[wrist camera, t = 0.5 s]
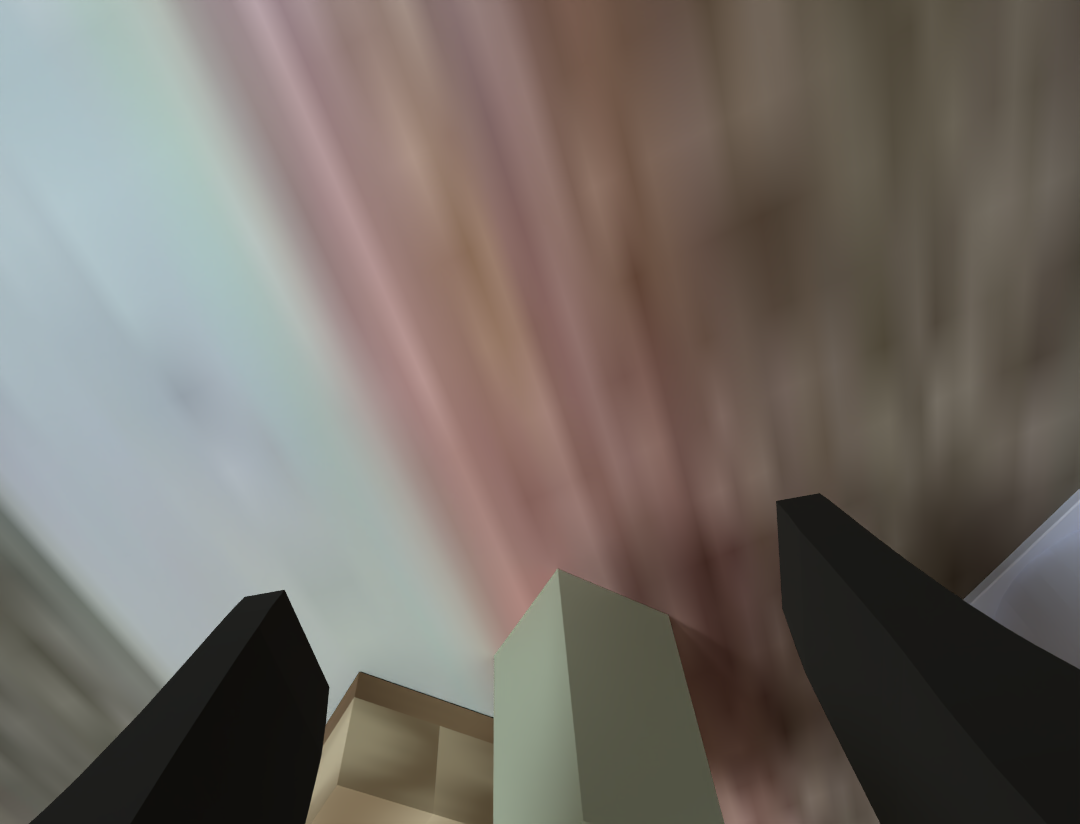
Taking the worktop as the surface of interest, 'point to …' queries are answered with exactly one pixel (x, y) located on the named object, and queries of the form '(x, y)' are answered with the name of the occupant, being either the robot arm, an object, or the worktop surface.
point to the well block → (403, 760)
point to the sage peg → (596, 716)
